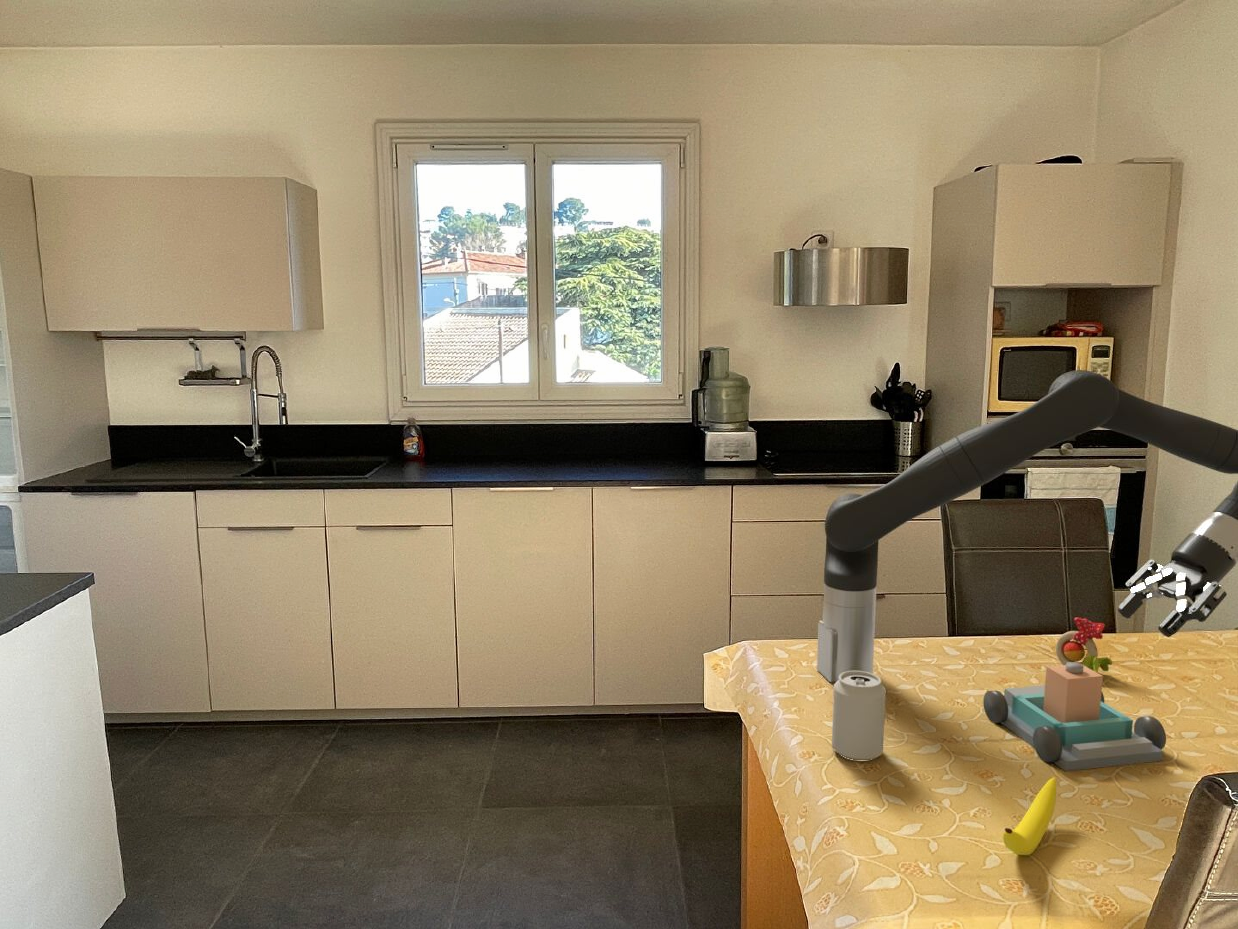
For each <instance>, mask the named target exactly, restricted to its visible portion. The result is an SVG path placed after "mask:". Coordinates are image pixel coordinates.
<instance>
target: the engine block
mask: <svg viewBox="0 0 1238 929" xmlns="http://www.w3.org/2000/svg"><path fill="white" fill-rule="evenodd" d="M1079 663H1080V662H1078V663H1075V662H1068V663H1066V665H1062V664H1060V665H1050V666H1045V667H1046V669H1045V682H1044V685H1045V694H1044V707H1043V711H1044V712H1045V713H1047V714H1048V715H1050V716H1051V717H1053V718H1054V719H1056V720H1057V721H1059V722H1060V723H1069V722H1079V721H1089V720H1099V715H1100V704H1101V692H1102V693H1103V691H1102V690H1103V681H1104V680H1103V678H1104V675H1103V674H1100V673H1099V672H1098V673H1097V672H1095V671H1093V670H1091V669H1089V668H1087V667H1086V666H1084V665H1082V664H1079Z"/></svg>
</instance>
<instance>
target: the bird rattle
mask: <svg viewBox="0 0 1238 929" xmlns="http://www.w3.org/2000/svg"><path fill="white" fill-rule="evenodd" d="M1073 621H1074V623H1075V625H1076V628H1077V629H1078V630H1069V631H1067V632H1065V633H1063V634H1062V635H1060V636H1059V637H1058V639H1057V641H1056V644H1055V654H1056V656H1057V658H1058V660H1059V661H1060V663H1061V665H1066V663H1068V662H1075V663H1079V664H1082V665H1084V666H1086V667H1087V668H1089V669H1091V670H1093V671H1095V672H1097V673H1098V674H1099V668H1100V669H1101V670H1102V671H1103V672H1109V671H1110V670H1109V668H1110V667H1109V665H1110V666H1111V665H1113V659H1111V658H1109V657H1107V656H1103V657H1098V656H1099V655H1098V654H1099V653H1098V652H1099V651H1098V647H1097V645H1096V643H1095V641H1094V638H1095V639H1096V640H1102V639H1103V637H1104V636H1103V633H1102V632H1103V630H1104V629H1105V623H1102V622H1092V621H1091V620H1089V619H1088V618H1082V617H1074V618H1073ZM1081 660H1082V661H1081Z"/></svg>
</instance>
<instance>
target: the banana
mask: <svg viewBox="0 0 1238 929" xmlns="http://www.w3.org/2000/svg"><path fill="white" fill-rule="evenodd" d="M1056 798H1057V777H1055V776H1053V777H1051V779H1048V781H1047V782H1046V783H1045V784H1044V785H1043V786H1042V788H1041V789H1040V790H1039V791H1038V793H1037V795H1036V796H1035V798H1034V799H1033V801H1032V803H1031V805H1030V806H1029V808H1028V809H1027V811H1026V813H1025V814H1024V816H1023V817H1022V819H1021V820H1020V822H1019V823H1018V825H1017V826H1016V827H1015V828H1014V829H1011V828H1008V827H1005V828H1004V831H1003V833H1002V839H1003V842H1004V846H1005V847H1006V849H1008V850H1010V851H1011V852H1013V853H1014V854H1015V855H1017V856H1030V855H1031V854H1033V853H1034V852H1035V850H1036V849H1037V847H1038V846H1039V844H1040V842H1041V840H1042V839H1043V837H1044V835H1045V833H1046V830H1047V828H1048V827H1049V824H1050V822H1051V820H1052V817H1053V814H1054V812H1055V811H1054V810H1055V806H1056Z"/></svg>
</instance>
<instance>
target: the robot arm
mask: <svg viewBox="0 0 1238 929" xmlns="http://www.w3.org/2000/svg"><path fill="white" fill-rule="evenodd" d="M1048 389H1049V390H1048V393H1047V395H1045V396H1044V397H1042V398H1041V399H1039V400H1038V401H1036V402H1034V403H1033V404H1031V405H1029V406H1028V407H1026V408H1024V409H1022V410H1021V411H1019V412H1016V413H1014V414H1012V415H1009V416H1007V417H1003V418H1000V419H997V420H994V421H990V422H988V423H985V424H983V425H978V426H977V427H975V428H971V429H970V430H967V431H965V432H963V433H961V434H958V435H956V436H955V437H953V438H951V439H949V440H947V441H946V442H944V443H942V444H940V445H938V446H937V447H935V448H933V449H931V450H930V451H928V452H927V453H925V455H923V456H922V457H921V458H919V459H918V460H917V461H915V462H914V463H912V464H911V465H910V466H909V467H907V468H906V469H905V470H904V471H903V472H901V473H899V475H897V477H895V478H894V479H892V480H891V481H889V482H888V483H886V484H884V485H882V486H880V487H878V488H875V489H874V490H872V491H870V492H867V493H865V494H864V495H862V494H859V493H847V494H843V495H841V496H839V497H837V498H836V499H835V500H834V501H833V502H832V503H831V504H830V505H829V508H828V510H827V513H826V516H825V521H824V532H825V535H826V537H825V556H824V557H825V558H824V569H823V599H822V600H823V606H822V620H819V621H818V622H817V623H818V624H817V654H816V655H817V656H816V658H817V660H816V670H817V671H818V672H819V673H820V674H821V675H822V676H823V677H824V678H825V679H826V680H827V681H828V682H830V683H836V682H837V681H838V680H839V675H840V674H841V673H843V672H847V671H865V672H869V673H872V674H874V673H873V672H874V656H875V655H874V653H875V652H874V651H875V629H876V628H875V627H876V626H875V625H876V609H877V608H876V606H877V604H876V603H877V583H878V581H877V580H878V569H879V568H878V567H879V566H878V564H879V562H878V561H879V541H880V540H881V539H882V538H884V537H885V536H887V535H888V534H890V533H892V532H893V531H895V530H896V529H898V528H900V527H901V526H902V525H904V524H905V523H908V522H909V521H911V520H912V519H915V518H916V517H919V516H921V515H923V514H926V513H927V512H931V511H932V510H934V509H937V508H939V507H941V506H944V505H946V504H948V503H950V502H952V501H954V500H956V499H958V498H960V497H963V496H965V495H967V494H968V493H970V492H973V491H974V490H977V489H978V488H980V487H983V486H984V485H985V484H988V483H989V482H991V481H993V480H994V479H996V478H998V477H1000V476H1001V475H1004V474H1005V473H1007V472H1009V471H1011V470H1012V469H1014V468H1016V467H1018V466H1019V465H1021V464H1022V463H1024V462H1026V461H1027V460H1029V459H1030V458H1032V457H1033V456H1036V455H1037V454H1038V453H1041V452H1042V451H1045V450H1047V449H1049V448H1052V447H1053V446H1055V445H1058V444H1061V443H1063V442H1066V441H1067V440H1070V439H1073V438H1076V437H1077V436H1080V435H1082V434H1085V433H1087V432H1090V431H1092V430H1095V429H1097V428H1102V429H1106V430H1110V431H1113V432H1116V433H1120V434H1123V435H1126V436H1128V437H1131V438H1134V439H1137V440H1140V441H1142V442H1144V443H1147V444H1149V445H1151V446H1153V447H1155V448H1158V449H1159V450H1163V451H1164V452H1167V453H1168V454H1171V455H1174V456H1176V457H1178V458H1181V459H1183V460H1185V461H1188V462H1191V463H1193V464H1196V465H1198V466H1202V467H1205V468H1207V469H1210V470H1212V471H1215V472H1216V471H1217V472H1219V473H1224V474H1227V475H1228V474H1230V475H1236V474H1237V475H1238V429H1236V428H1233V427H1230V426H1228V425H1225V424H1221V423H1219V422H1216V421H1213V420H1210V419H1207V418H1204V417H1201V416H1197V415H1193V414H1191V413H1187V412H1184V411H1180V410H1177V409H1174V408H1171V407H1166V406H1163V405H1159V404H1157V403H1154V402H1151V401H1148V400H1145V399H1142V398H1140V397H1137V396H1136V395H1133V394H1130V393H1129V392H1127V391H1124V390H1123V389H1120V388H1118V387H1116V385H1115V384H1114V383H1113V382H1112V381H1111V380H1110V379H1109V378H1107V377H1106V376H1104V375H1102V374H1100V373H1097V372H1094V371H1090V370H1086V369H1076V370H1071V371H1068V372H1065V373H1063V374H1061V375H1060V376H1058V377H1057V378H1056V379H1055V380H1054V381H1053V382H1052V383H1051V385H1050V387H1049V388H1048ZM1170 554H1171V559H1170V561H1169V562H1168V563H1167V564H1165V565H1163V566H1162V565H1160V564H1158V563H1157V562H1156V561H1155V560H1154V559H1149V560H1148V561H1146V562H1145V563H1144V565H1143V566H1142V567H1140V569H1138V570H1137V571H1136V572H1135V573H1134V574H1133V575H1132V576H1131V577H1130V579H1128V580H1127V581H1126V582H1125V585H1126V587H1127V588H1128V589H1129V591H1130V594H1129V595H1128V596H1127V597H1126V598H1125V599H1124V600H1122V602H1121V603H1120V604H1119V606H1118V608H1117V612H1118V613H1119V614H1120V615H1121V616H1122V617H1123V618H1125V619H1130V618H1131V617H1132V616H1133V615H1134V614H1135V613H1136V612H1137V611H1138V609H1139V608H1140V607H1141V606H1142V605H1143V604H1144V602H1145V601H1148V600H1151V599H1153V598H1156V599H1159V598H1162V597H1166V598H1169V599H1174V600H1175V601H1176V602H1177V603H1176V604H1177V605H1176V610H1175V609H1174V610H1172V611H1171V612H1170V613H1169V614H1168V615H1167V617H1166V618H1164V620H1163V621H1162V622H1161V623H1160V624H1159V625H1158V631H1159V632H1160V633H1161V634H1162V635H1163V636H1165V637H1167V638H1170V637H1172V636H1173V635H1176V634H1177V633H1178V632H1179V630H1180V629H1182V627H1183V626H1184V625H1185V624H1186V623H1187V622H1191V621H1193V620H1195V621H1196V620H1197V621H1198V622H1199V623H1203V622H1205V621H1206V620H1207V619H1208V618H1209V616H1210V615H1212V613H1213V612H1214V611H1215V610H1216V608H1218V606H1219V605H1220V604H1221V603H1222V601H1224V599H1225V598H1226V597H1227V595H1228V594H1227V591H1225V589H1224V588H1223V587H1222V586H1221V585H1220V582H1221V581H1223V579H1224V578H1225V577H1226V575H1227V574H1229V573H1230V572H1231V571H1232V569H1233V568H1234V567H1235V566H1236V565H1237V564H1238V481H1237V482H1236V483H1235V485H1234V486H1233V489H1232V490H1231V492H1230V493H1229V494H1228V495H1227V496H1226V497H1225V498H1224V499H1223V500H1222V501H1221V502H1220V503H1219V504H1218V505H1217V506H1216V508H1214V510H1212V512H1210V513H1209V515H1207V516H1206V517H1205V518H1203V519H1202V520H1201V521H1200V522H1199V523H1198V524H1196V526H1195V527H1194V528H1193V529H1192V530H1191V532H1190V533H1188V535H1187V536H1186V537H1184V539H1183V540H1182V541H1181V542H1180V543H1179V544H1178V545H1177V546H1176V547H1175V549H1173V551H1172V552H1171V553H1170ZM1139 581H1140V582H1139ZM1138 583H1139V584H1138ZM1156 584H1157V585H1156ZM1155 585H1156V586H1157V587H1156V586H1155ZM1147 590H1148V591H1147ZM1144 591H1146V592H1144ZM1201 609H1202V610H1201Z"/></svg>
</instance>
